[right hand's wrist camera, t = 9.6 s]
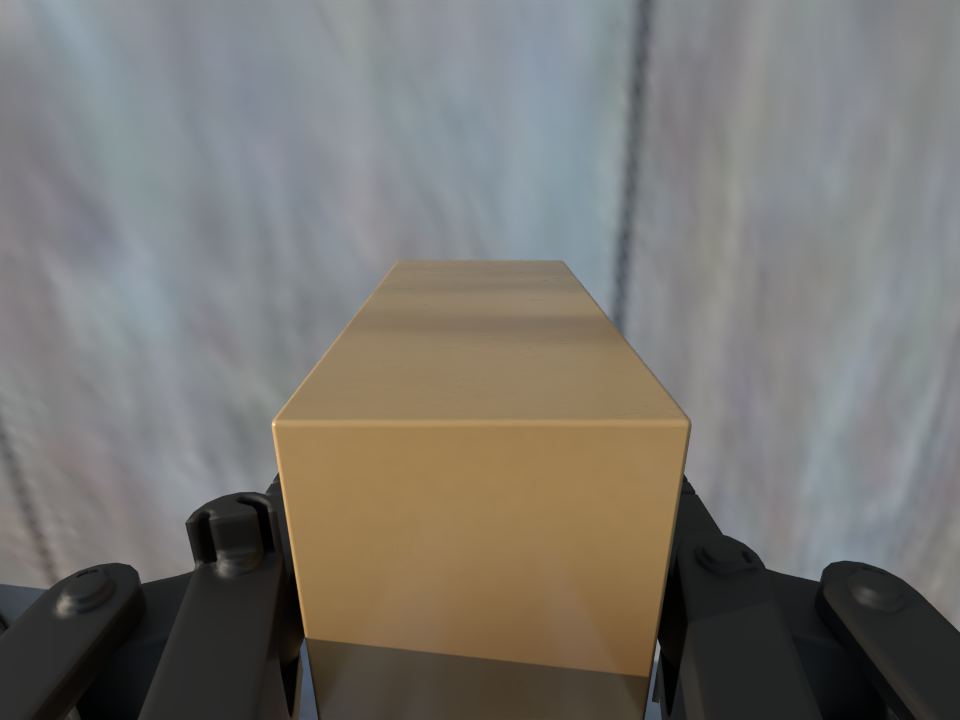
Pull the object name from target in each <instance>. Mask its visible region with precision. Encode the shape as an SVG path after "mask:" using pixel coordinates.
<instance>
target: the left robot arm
mask: <svg viewBox="0 0 960 720" xmlns="http://www.w3.org/2000/svg"><path fill="white" fill-rule="evenodd" d="M5 631H6V628H5V627H4V625H3V624H2V622H1V621H0V636H1V635H2V634H3V633H4V632H5Z"/></svg>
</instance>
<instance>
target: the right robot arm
mask: <svg viewBox="0 0 960 720" xmlns="http://www.w3.org/2000/svg"><path fill="white" fill-rule="evenodd" d="M185 524H186V528H187V532H188V537H189V541H190V545H191V549H192V553H193V557H194V561H195V565H196V566H195V569H194V571H192V572H189V573H186V574H182V575H179V576H175V577H170V578H166V579H161V580H157V581H152V582H148V583H144V584H141V581H140V578H139V574H138V572H137V571H136V570H135V569H134V568H133V567H132V566H130V565H126V564H121V563H110V564H101V565H96V566H93V567H90V568H87V569H84V570H81V571H78V572H76V573H74V574H73V575H71V576H69V577H67V578H65V579H63V580H61V581H59V582H58V583H57V584H55V585H54V586H53V587H52V588H50V589H49V590H48V591H46V592H45V593H44V594H43V595H42V596H41V597H40V598H39V599H38V600H37V601H36V602H35V603H34V604H33V605H32V606H31V607H29V608H28V609H27V610H26V611H25V612H24V613H23V614H22V615H21V616H20V617H19V618H18V619H17V620H16V621H15V622H14V623H13V624H12V625H11V626H10V627H9V628H8V629H7V630H6V631H5V632H4V633H3V634H2V635H1V636H0V720H64V719H65V720H298V718H299V707H300V696H301V685H302V674H303V667H302V661H301V655H300V647H301V645H302V642H303V639H304V636H305V632H304V626H303V620H302V613H301V607H300V601H299V595H298V588H297V582H296V576H295V569H294V563H293V557H292V550H291V544H290V538H289V532H288V525H287V519H286V513H285V506H284V500H283V494H282V488H281V481H280V475H279V473H278V474H277V476H276V477H275V479H274V480H273V484H271V485H270V487H269V488H268V490H267V491H266V493H265V495H264V494H261V493H257V492H239V493H235V494H230V495H226V496H222V497H220V498H217V499H215V500H213V501H210V502H208V503H206V504H205V505H203V506H202V507H200V508H199V509H197V510H196V511H195V512H193V513H192V515H191V516H190V517H189V519H188V520H187V521H186V523H185ZM657 638H658V641H659V644H660V647H661V649H660V655H659V661H658V667H657V673H656V679H655V685H654V691H653V698H652V702H657V703H659V699H660V705H661V716H662V720H898V719H899V720H960V632H959V631H958V630H957V629H956V628H955V627H954V626H953V625H952V624H951V623H950V622H949V621H948V620H947V619H946V618H944V617H943V616H942V615H941V614H940V613H939V612H938V611H937V610H936V609H935V608H934V607H933V606H932V605H931V604H930V603H929V602H928V601H927V600H926V599H925V598H924V597H923V596H922V595H921V594H920V593H919V592H918V591H916V590H915V589H914V588H913V587H911V586H910V585H909V584H907V583H906V582H905V581H904V580H902V579H901V578H899V577H897V576H895V575H893V574H891V573H889V572H887V571H885V570H883V569H881V568H878V567H875V566H871V565H868V564H865V563H861V562H852V561H840V562H834V563H831V564H829V565H828V566H827V567H826V568H825V569H824V570H823V572H822V576H821V579H820V582H818V581H813V580H809V579H804V578H800V577H795V576H791V575H786V574H782V573H779V572H775V571H772V570H768V569H766V568H765V565H764V564H763V562H762V561H761V559H760V558H759V556H758V555H757V554H756V553H755V552H754V551H753V550H751V549H750V548H749V547H748V546H746V545H745V544H744V543H741V542H739V541H737V540H735V539H733V538H731V537H729V536H725V535H723V534H722V532H721V531H720V529H719V528H718V526H717V525H716V523H715V521H714V520H713V518H712V517H711V515H710V514H709V512H708V511H707V509H706V507H705V506H704V504H703V503H702V501H701V500H700V498H699V497H698V495H696V494H695V490H694V489H693V487H692V486H691V484H690V483H689V482H688V481H687V478H686V476H685V475H684V476H683V482H682V488H681V494H680V501H679V507H678V513H677V519H676V525H675V532H674V538H673V544H672V550H671V556H670V563H669V569H668V575H667V581H666V588H665V594H664V600H663V606H662V612H661V619H660V625H659V631H658V637H657ZM893 712H894V713H893ZM894 714H895V715H896V716H897V717H896V716H895V715H894ZM67 715H68V716H67ZM897 718H898V719H897Z"/></svg>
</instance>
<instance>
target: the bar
mask: <svg viewBox="0 0 960 720" xmlns="http://www.w3.org/2000/svg"><path fill="white" fill-rule="evenodd" d="M691 425H692V424H691V421H690V419H689V418H688V416H687V415H686V414H685V413H684V411H683V410H682V409H681V408H680V406H679V405H678V404H677V403H676V401H675V400H674V399H673V398H672V396H671V395H670V394H669V393H668V391H667V390H666V389H665V388H664V386H663V385H662V384H661V383H660V381H659V380H658V379H657V378H656V376H655V375H654V374H653V373H652V371H651V370H650V369H649V368H648V366H647V365H646V364H645V363H644V361H643V360H642V359H641V358H640V356H639V355H638V354H637V353H636V351H635V350H634V349H633V348H632V346H631V345H630V344H629V343H628V342H627V340H626V339H625V338H624V337H623V335H622V334H621V333H620V332H619V330H618V329H617V328H616V327H615V325H614V324H613V323H612V322H611V320H610V319H609V318H608V317H607V315H606V314H605V313H604V312H603V310H602V309H601V308H600V307H599V305H598V304H597V303H596V302H595V300H594V299H593V298H592V297H591V295H590V294H589V293H588V292H587V290H586V289H585V288H584V287H583V285H582V284H581V283H580V282H579V280H578V279H577V278H576V277H575V275H574V274H573V273H572V272H571V270H570V269H569V268H568V267H567V265H566V264H565V263H564V262H563V261H397V262H396V264H395V265H394V266H393V267H392V269H391V270H390V271H389V272H388V274H387V275H386V276H385V278H384V279H383V280H382V281H381V283H380V284H379V285H378V287H377V288H376V289H375V290H374V292H373V293H372V294H371V295H370V297H369V298H368V299H367V301H366V302H365V303H364V304H363V306H362V307H361V308H360V310H359V311H358V312H357V313H356V315H355V316H354V317H353V318H352V320H351V321H350V322H349V324H348V325H347V326H346V327H345V329H344V330H343V331H342V333H341V334H340V335H339V336H338V338H337V339H336V340H335V342H334V343H333V344H332V345H331V347H330V348H329V349H328V350H327V352H326V353H325V354H324V356H323V357H322V358H321V359H320V361H319V362H318V363H317V365H316V366H315V367H314V368H313V370H312V371H311V372H310V373H309V375H308V376H307V377H306V379H305V380H304V381H303V382H302V384H301V385H300V386H299V388H298V389H297V390H296V391H295V393H294V394H293V395H292V396H291V398H290V399H289V400H288V402H287V403H286V404H285V405H284V407H283V408H282V409H281V411H280V412H279V413H278V414H277V416H276V417H275V418H274V420H273V422H272V431H273V437H274V443H275V450H276V456H277V462H278V469H279V475H280V481H281V488H282V494H283V500H284V506H285V513H286V519H287V525H288V532H289V538H290V544H291V550H292V557H293V563H294V569H295V576H296V582H297V588H298V595H299V601H300V607H301V613H302V620H303V626H304V632H305V639H306V645H307V651H308V657H309V664H310V670H311V676H312V683H313V689H314V695H315V702H316V708H317V714H318V720H644V718H645V712H646V706H647V699H648V693H649V687H650V681H651V675H652V668H653V662H654V656H655V650H656V644H657V637H658V631H659V625H660V619H661V612H662V606H663V600H664V594H665V588H666V581H667V575H668V569H669V563H670V556H671V550H672V544H673V538H674V532H675V525H676V519H677V513H678V507H679V501H680V494H681V488H682V482H683V476H684V469H685V463H686V457H687V451H688V445H689V438H690V432H691Z"/></svg>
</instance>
